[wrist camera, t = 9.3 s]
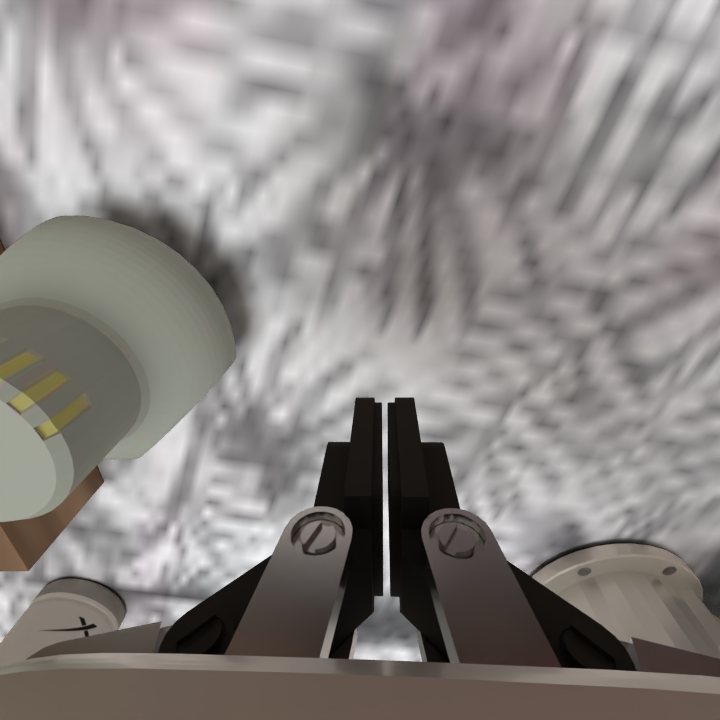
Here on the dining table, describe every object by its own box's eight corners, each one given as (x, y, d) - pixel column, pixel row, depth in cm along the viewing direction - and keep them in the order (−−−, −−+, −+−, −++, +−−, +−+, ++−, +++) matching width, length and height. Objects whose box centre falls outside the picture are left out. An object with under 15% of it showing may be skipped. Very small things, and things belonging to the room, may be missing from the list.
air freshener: (152, 432, 23) (11, 604, 14) (16, 336, 20) (-268, 471, 11) (276, 311, 19) (197, 435, 10) (132, 176, 17) (-144, 183, 8)
